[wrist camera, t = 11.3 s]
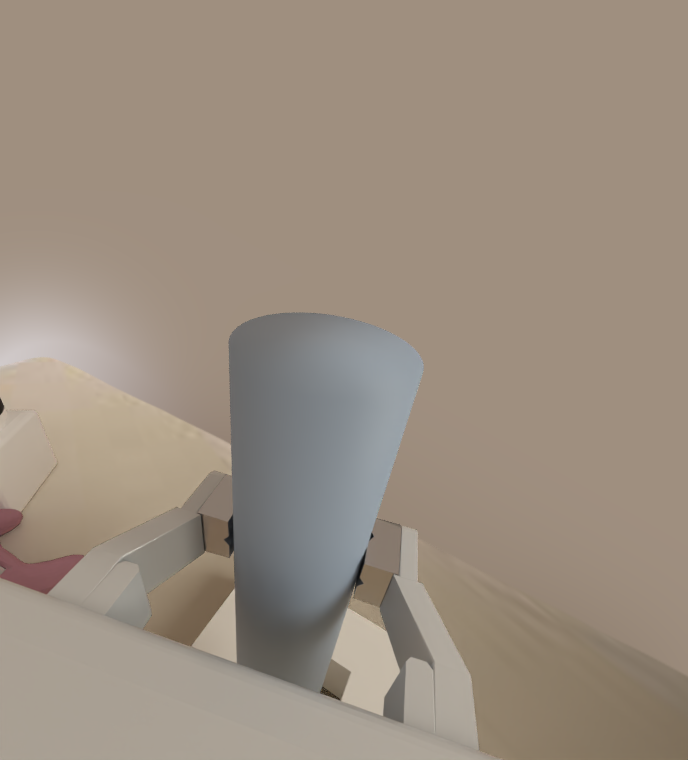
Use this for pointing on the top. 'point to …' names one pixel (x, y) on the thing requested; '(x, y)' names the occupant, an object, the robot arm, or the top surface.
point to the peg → (308, 477)
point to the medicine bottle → (22, 457)
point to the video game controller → (35, 574)
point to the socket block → (348, 663)
